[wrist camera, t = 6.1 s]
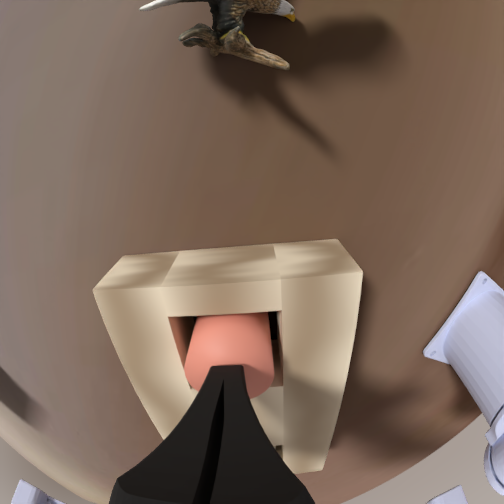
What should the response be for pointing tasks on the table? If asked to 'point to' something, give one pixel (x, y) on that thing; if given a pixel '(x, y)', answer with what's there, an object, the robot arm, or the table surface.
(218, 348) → the pink rounded plug
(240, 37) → the eagle figurine
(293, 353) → the press housing
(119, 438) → the table surface
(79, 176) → the table surface
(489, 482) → the robot arm
